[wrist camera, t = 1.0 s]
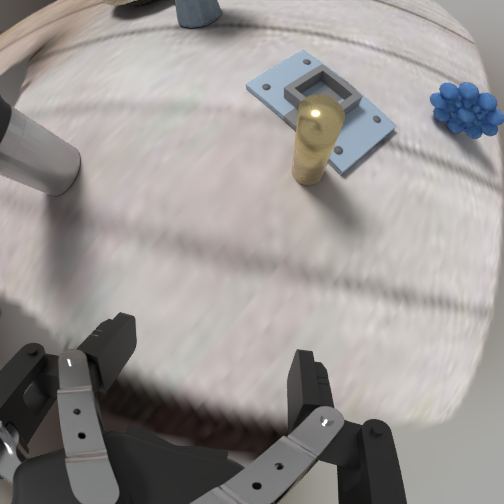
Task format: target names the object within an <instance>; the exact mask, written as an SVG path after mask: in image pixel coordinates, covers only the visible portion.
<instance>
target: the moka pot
mask: <svg viewBox="0 0 504 504" xmlns="http://www.w3.org/2000/svg"><path fill="white" fill-rule="evenodd" d="M175 5H176V12H177V19H178V23H179V24H180V25H181V26H184V27H189V28H194V27H202V26H205V25H208V24H210V23H212V22H214V21H216V20H217V19H218V18H219V17H220V15H221V9H220V6H219V4H218V1H217V0H175Z"/></svg>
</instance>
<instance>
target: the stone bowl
mask: <svg viewBox="0 0 504 504" xmlns="http://www.w3.org/2000/svg"><path fill="white" fill-rule="evenodd" d="M150 1H153V0H103V1H102V3H105V4H109V5H112V6H113V5H123V4H125V5H128V6H142V5H145V4H147V3H148V2H150Z"/></svg>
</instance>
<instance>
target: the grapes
mask: <svg viewBox="0 0 504 504" xmlns="http://www.w3.org/2000/svg"><path fill="white" fill-rule="evenodd" d="M439 89H440V93H434V94H432V95H431V97H430V102H431V104H432V105H433V106H434V107H436V108H435V109H434V111H433V113H434V116H435V117H436V119H437V120H439V121H442V122H447V127H448V128H449V130H450V131H452V132H454V133H461V132H463V130H464V128H465V133H466V134H467V135H468V136H469V137H470V138H473V139H478V138H480V137H481V135H482V133H484V134H485V135H487V136H494V135H496V134H497V132H498V127H497V125H500V124H502V123H503V122H504V115H503V113H502V112H501V111H500V110H498V109H496V107H497V100H496V99H495V97H494V96H492V95H491V94H489V93H481V94H479V90H478V88H477V87H476V86H475V85H473V84H472V83H462V84H460V86H459V89H458V88H457V86H455V85H454V84H452V83H444V84H442V85H441V86H440V88H439Z"/></svg>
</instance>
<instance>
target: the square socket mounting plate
mask: <svg viewBox="0 0 504 504" xmlns="http://www.w3.org/2000/svg"><path fill="white" fill-rule="evenodd" d="M246 89H247V90H248V91H249V92H251V93H252V94H253V95H254V96H256V97H257V98H258V99H259V100H261V101H262V102H263V103H264V104H265V105H267V106H268V107H269V108H270V109H271V110H272V111H274V112H275V113H276V114H277V115H278V116H279V117H281V118H282V119H283V120H284V121H285V122H286V123H287V124H288V125H290V126H291V127H292V128H293V129H294V130H295V131H296V128H297V117H298V107H299V105H300V103H301V101H302V100H303V99H305V98H306V97H308V96H311V95H325V96H329V97H331V98H333V99H334V100H336V101H337V102H338V103H339V104H340V105H341V106H342V108H343V110H344V113H345V120H344V123H343V126H342V128H341V131H340V133H339V136H338V138H337V141H336V144H335V146H334V149H333V151H332V154H331V156H330V159H329V161H328V163H329V164H330V165H331V166H332V167H333V168H334V169H335V170H336V171H337V172H338V173H339V174H340V175H342V174H343V173H344V172H345V171H346V170H348V169H349V168H350V167H351V166H352V165H353V164H355V163H356V162H357V161H358V160H359V159H360V158H361V157H363V156H364V155H365V154H366V153H367V152H368V151H370V150H371V149H372V148H373V147H374V146H375V145H377V144H378V143H379V142H380V141H381V140H382V139H384V138H385V137H386V136H387V135H388V134H389V133H390V132H392V131H393V130H394V129H395V127H396V125H395V124H394V123H393V122H392V121H391V120H390V119H389V118H388V117H387V116H386V115H385V114H384V113H382V112H381V111H380V110H379V109H378V108H377V107H376V106H375V105H374V104H373V103H372V102H370V101H369V100H368V99H367V98H366V97H365V96H364V95H362V94H361V93H360V92H359V91H358V90H356V89H355V88H354V87H353V86H352V85H350V84H349V83H348V82H347V81H345V80H344V79H343V78H342V77H340V76H339V75H338V74H336V73H335V72H334V71H332V70H331V69H330V68H328V67H327V66H326V65H324V64H323V63H322V62H320V61H319V60H317V59H316V58H315V57H313V56H312V55H310V54H309V53H307V52H306V51H304V50H302V51H300V52H299V53H297V54H295V55H293V56H291V57H290V58H288V59H286V60H284V61H283V62H281V63H279V64H278V65H276V66H274V67H273V68H271V69H269V70H268V71H266V72H264V73H263V74H261V75H260V76H258V77H256V78H255V79H253V80H252V81H250V82H249V83H247V84H246Z"/></svg>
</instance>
